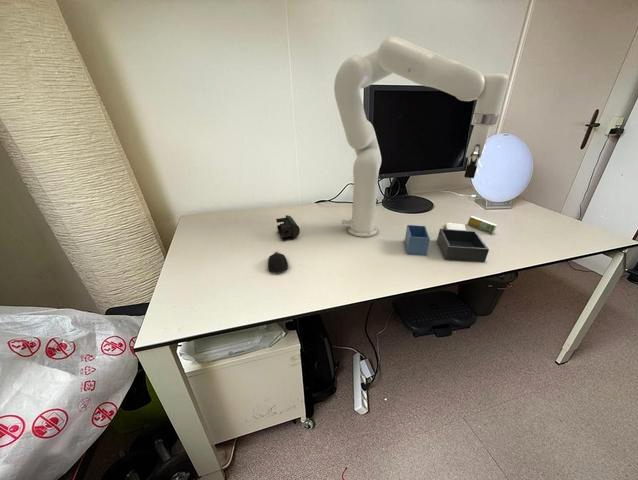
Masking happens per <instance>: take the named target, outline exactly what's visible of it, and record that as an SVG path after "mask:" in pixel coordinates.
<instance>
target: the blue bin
mask: <svg viewBox="0 0 638 480" xmlns="http://www.w3.org/2000/svg"><path fill="white" fill-rule="evenodd" d="M405 230H406V231H405V237H404V244H405V248H406V254H407V255H415V256H416V255H417V256H427V253H428V248H429V244H430V240H431V239H430V238H431V237H430V235H429V232H428V230H427V227H426V225H416V224H415V225H414V224H407V225H406V229H405Z"/></svg>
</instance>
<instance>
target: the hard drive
mask: <svg viewBox="0 0 638 480" xmlns="http://www.w3.org/2000/svg"><path fill="white" fill-rule="evenodd" d="M444 226H445V229H452V230H467V228H466V225H465V224H464V223H454V222H445V224H444Z"/></svg>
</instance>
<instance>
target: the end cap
mask: <svg viewBox="0 0 638 480" xmlns="http://www.w3.org/2000/svg"><path fill="white" fill-rule="evenodd" d="M275 220H276V223H278V224H277V225H276V228H277V233H278V235H279V237H280V238H281V241H282V242H286V241H293V240H295V239H296V238H297V237H298V236H299V235H300V233H301V228H300V226H299V225H298V224H297V222H296V221H295V220H294V218H293V217H292V216H291V215H288V214H287V215H285V217H279V218H276V219H275Z"/></svg>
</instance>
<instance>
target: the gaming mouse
mask: <svg viewBox="0 0 638 480" xmlns="http://www.w3.org/2000/svg"><path fill="white" fill-rule="evenodd" d="M267 267H268V271H269V272H270V273H274V274H282V273H284V272H286V271H287V270H288V269H289V263H288V259H287V258H286V255H285V254H284V253H280V252H278V251H275V252H274V253H272V254H271V255H269V257H268V261H267Z"/></svg>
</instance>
